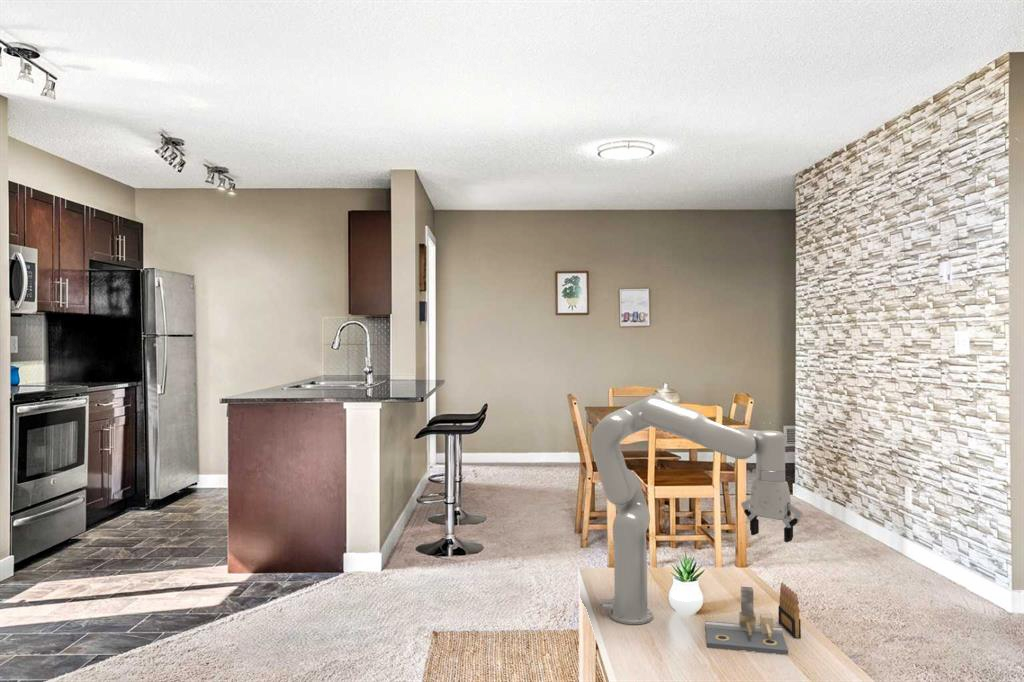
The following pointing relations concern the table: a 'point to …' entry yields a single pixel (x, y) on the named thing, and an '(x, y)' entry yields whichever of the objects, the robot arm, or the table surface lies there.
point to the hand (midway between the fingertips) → (771, 537)
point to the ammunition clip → (789, 611)
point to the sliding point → (747, 610)
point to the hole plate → (737, 637)
